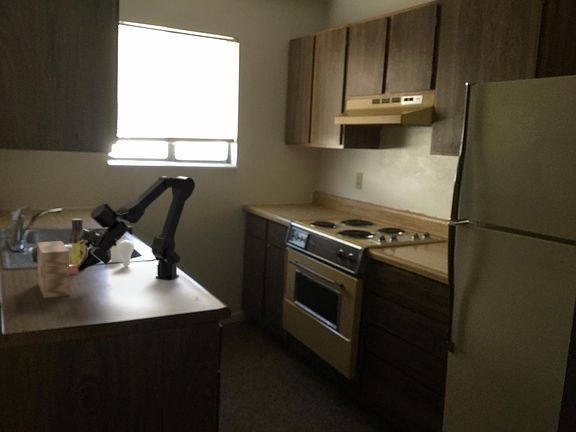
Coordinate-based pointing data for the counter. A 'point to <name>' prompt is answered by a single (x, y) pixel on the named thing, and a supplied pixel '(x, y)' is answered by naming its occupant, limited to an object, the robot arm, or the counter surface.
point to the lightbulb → (126, 251)
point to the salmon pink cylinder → (73, 269)
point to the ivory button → (69, 248)
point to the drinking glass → (117, 252)
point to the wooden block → (53, 269)
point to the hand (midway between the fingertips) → (78, 269)
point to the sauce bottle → (76, 243)
